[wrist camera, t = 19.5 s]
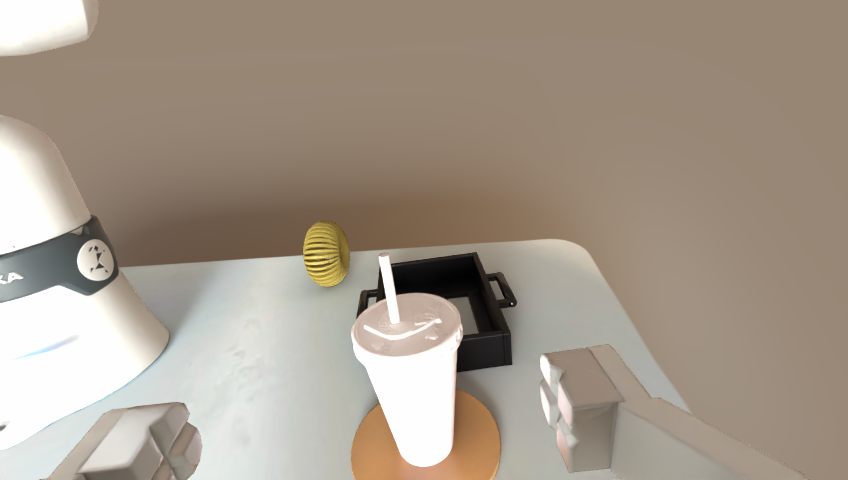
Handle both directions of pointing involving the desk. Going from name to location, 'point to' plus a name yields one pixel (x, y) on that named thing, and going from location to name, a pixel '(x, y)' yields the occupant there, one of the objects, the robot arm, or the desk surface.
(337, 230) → the sculpture
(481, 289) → the pan
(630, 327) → the desk surface
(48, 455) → the desk surface
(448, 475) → the cork pad
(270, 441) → the desk surface
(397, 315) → the smoothie
